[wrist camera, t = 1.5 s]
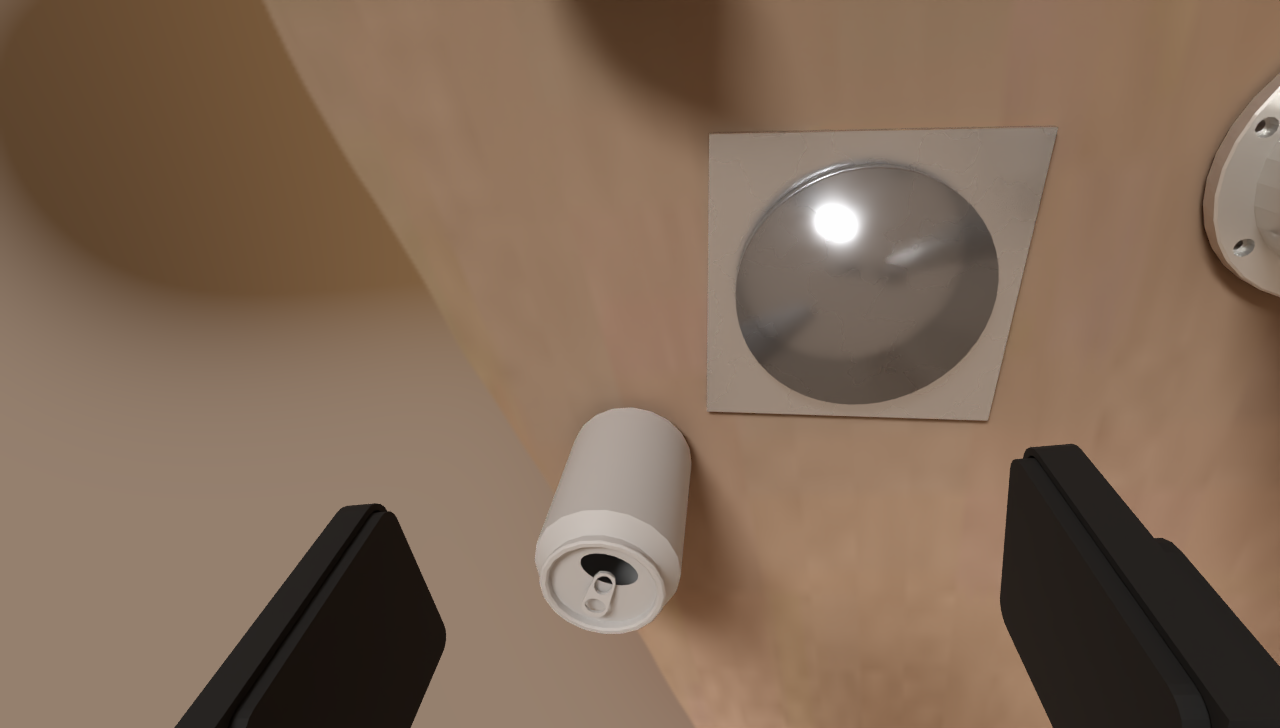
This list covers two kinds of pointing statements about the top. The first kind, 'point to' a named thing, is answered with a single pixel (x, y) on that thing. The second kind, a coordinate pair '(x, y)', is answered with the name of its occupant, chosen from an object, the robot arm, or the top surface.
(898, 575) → the top surface
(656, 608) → the can
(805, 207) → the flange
